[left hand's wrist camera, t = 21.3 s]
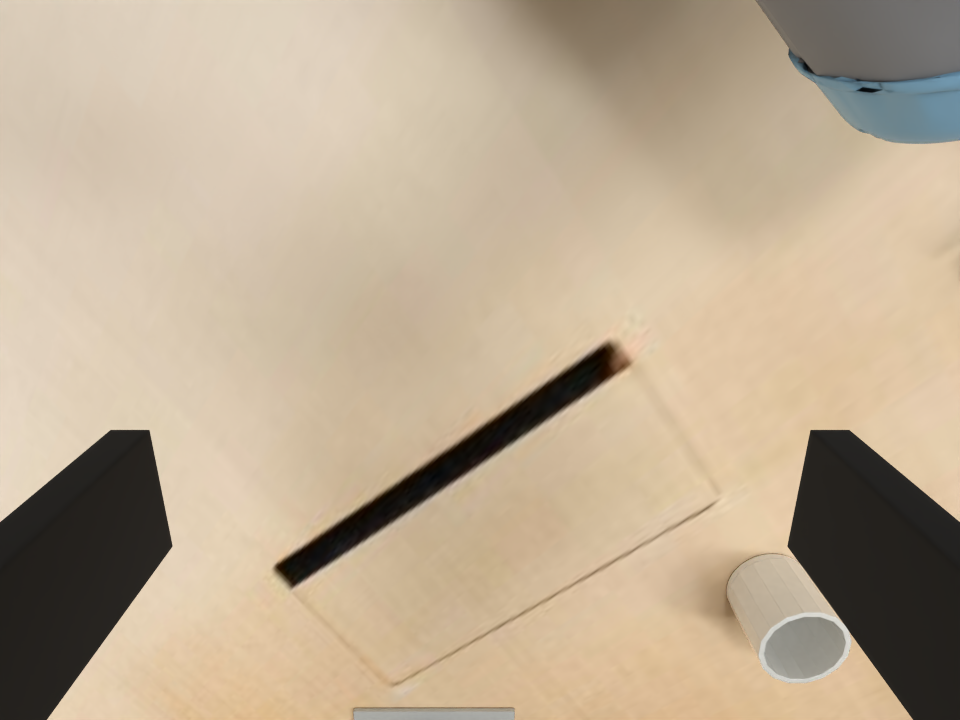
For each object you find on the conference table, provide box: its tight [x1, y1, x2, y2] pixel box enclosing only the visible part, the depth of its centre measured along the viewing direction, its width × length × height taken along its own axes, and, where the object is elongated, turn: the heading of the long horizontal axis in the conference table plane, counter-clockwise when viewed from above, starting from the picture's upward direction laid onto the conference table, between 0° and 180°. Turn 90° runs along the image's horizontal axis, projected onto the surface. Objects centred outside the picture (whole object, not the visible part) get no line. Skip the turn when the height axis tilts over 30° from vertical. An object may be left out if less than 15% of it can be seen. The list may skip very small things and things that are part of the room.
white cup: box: [727, 554, 851, 683], centre depth 48 cm, size 6×6×6 cm
